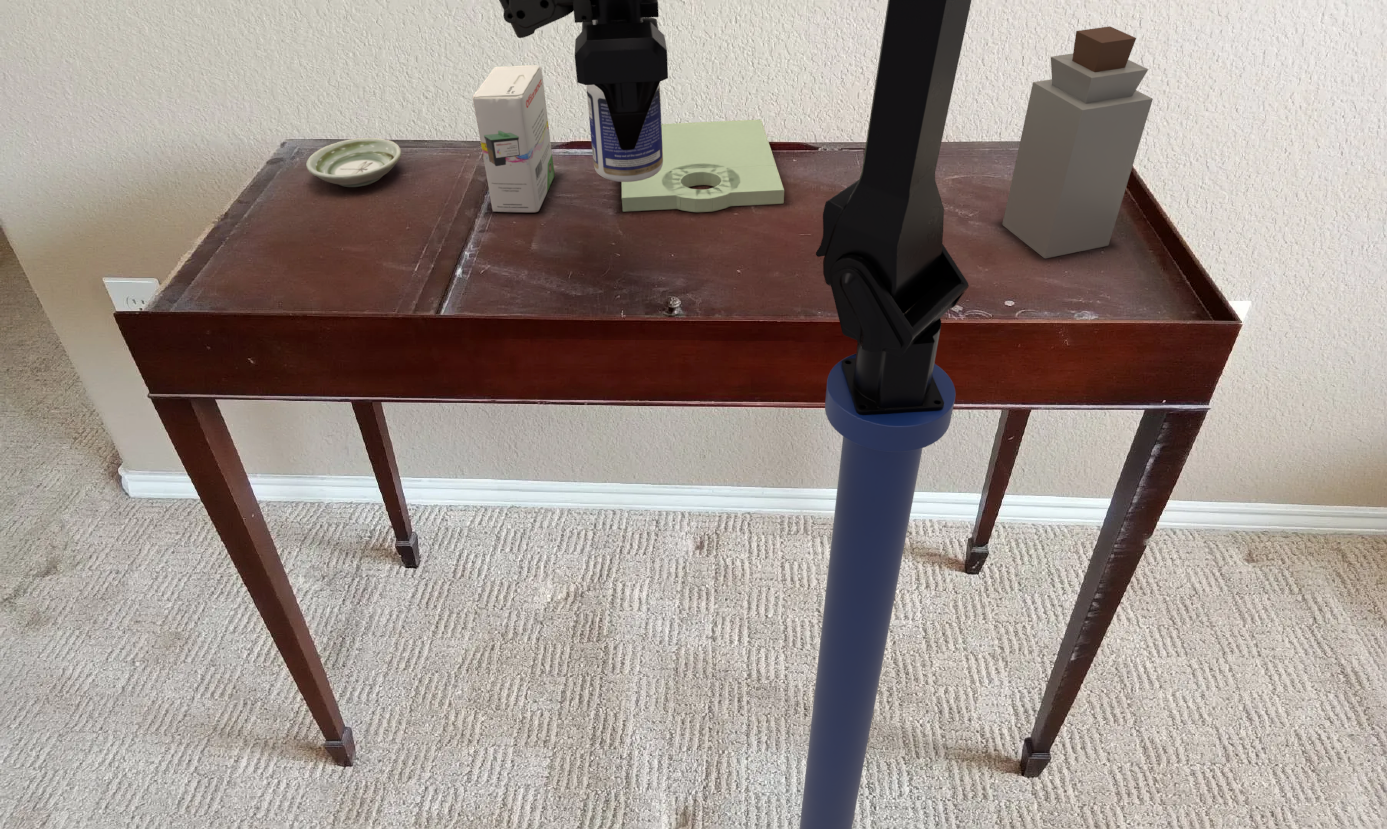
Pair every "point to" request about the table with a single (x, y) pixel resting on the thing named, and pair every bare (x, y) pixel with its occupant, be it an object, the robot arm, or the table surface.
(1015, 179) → the perfume bottle
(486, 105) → the ink box
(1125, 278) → the table surface
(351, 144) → the saucer
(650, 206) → the plate
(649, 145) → the pill bottle
